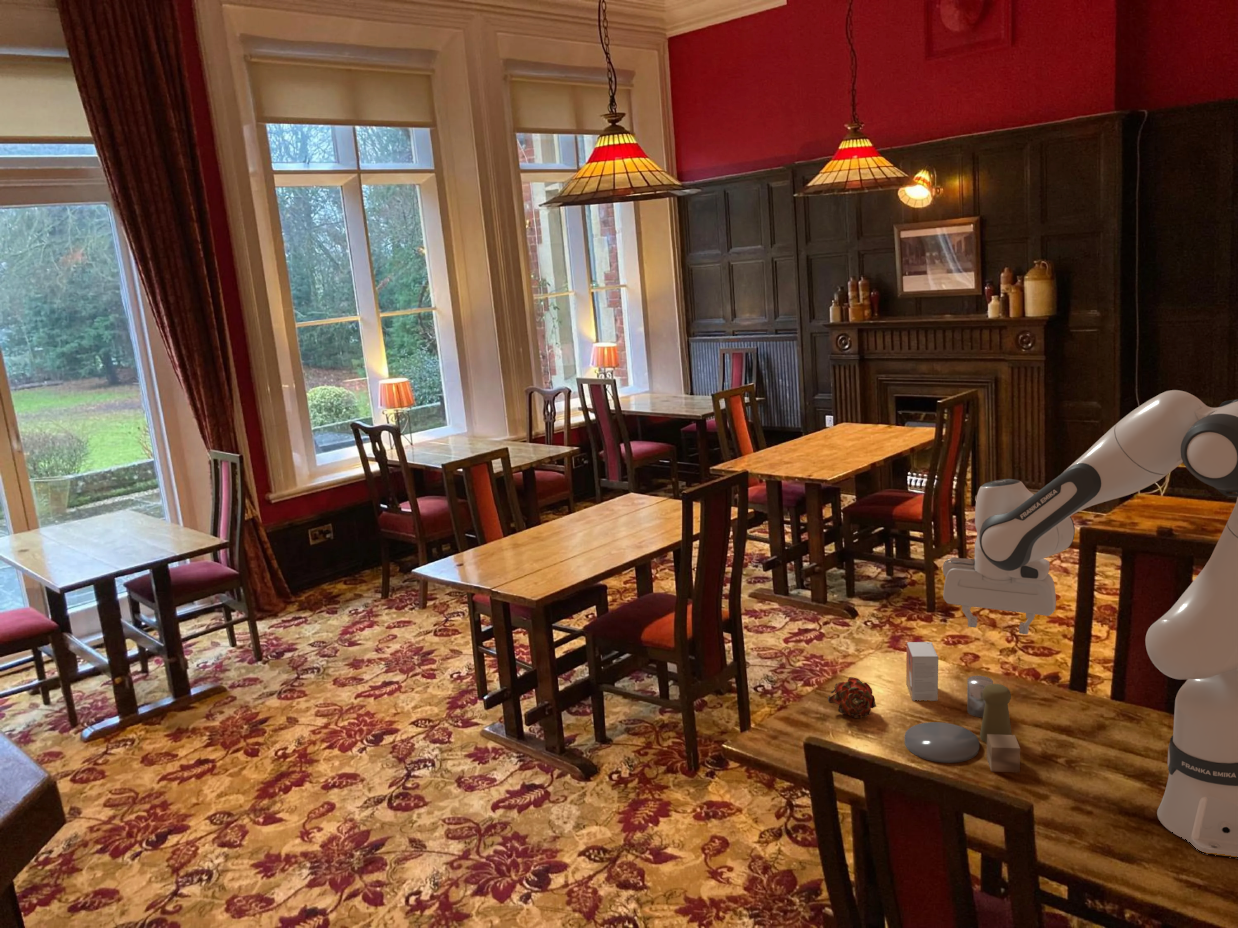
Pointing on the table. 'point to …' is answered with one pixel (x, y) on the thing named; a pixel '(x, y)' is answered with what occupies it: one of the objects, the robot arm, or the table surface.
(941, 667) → the table surface
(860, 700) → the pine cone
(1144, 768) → the table surface
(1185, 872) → the table surface
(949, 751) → the smooth pebble
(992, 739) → the light brown cube
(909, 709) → the table surface
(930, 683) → the small box
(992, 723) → the cork
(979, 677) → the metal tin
